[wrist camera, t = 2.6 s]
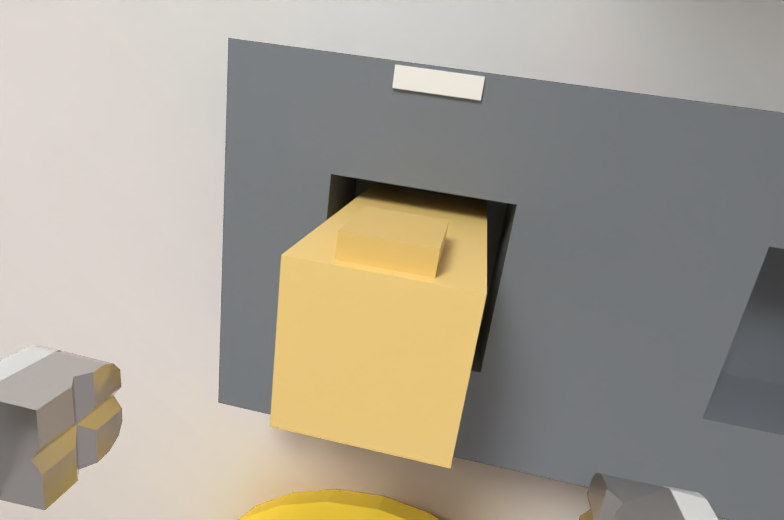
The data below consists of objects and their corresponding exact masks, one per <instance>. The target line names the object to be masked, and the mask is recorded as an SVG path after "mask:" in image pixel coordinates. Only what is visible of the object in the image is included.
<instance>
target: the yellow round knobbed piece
mask: <svg viewBox="0 0 784 520" xmlns="http://www.w3.org/2000/svg"><path fill="white" fill-rule="evenodd" d="M238 520H439V519H438V518H436V517H434V516H433V515H431V514H430V513H428V512H425V511H423V510H420V509H417V508H414V507H412V506H409V505H406V504H404V503H401V502H398V501H395V500H393V499H390V498H387V497H385V496H380V495H374V494H367V493H360V492H353V491H346V490H339V489H331V490H319V491H307V492H294V493H291V494H288V495H285V496H282V497H279V498H277V499H274V500H271V501H268V502H265V503H262V504H260V505H257V506H256V507H254V508H253V509H252V510H250V511H249V512H248V513H246V514H245V515H244V516H242V517H241V518H240V519H238Z"/></svg>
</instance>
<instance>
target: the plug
mask: <svg viewBox="0 0 784 520" xmlns="http://www.w3.org/2000/svg"><path fill="white" fill-rule="evenodd" d="M486 296H487V201H483V200H477V199H471V198H465V197H459V196H453V195H447V194H441V193H435V192H428V191H422V190H416V189H410V188H404V187H398V186H392V185H386V184H380V183H375V184H373V185H372V186H371V187H370V188H368V189H367V190H366V191H364V192H363V193H362V194H360V195H359V196H358V197H356V198H355V199H354V200H353V201H351V202H350V203H349V204H347V205H346V206H345V207H343V208H342V209H341V210H339V211H338V212H337V213H336V214H334V215H333V216H332V217H330V218H329V219H328V220H326V221H325V222H324V223H322V224H321V225H320V226H319V227H317V228H316V229H315V230H313V231H312V232H311V233H309V234H308V235H307V236H305V237H304V238H303V239H302V240H300V241H299V242H298V243H296V244H295V245H294V246H292V247H291V248H290V249H288V250H287V251H286V252H285V253H283V254H282V255H281V267H280V282H279V297H278V312H277V327H276V342H275V357H274V371H273V386H272V401H271V416H270V427H274V428H278V429H282V430H287V431H291V432H295V433H299V434H304V435H308V436H312V437H317V438H321V439H325V440H330V441H334V442H338V443H342V444H347V445H351V446H355V447H360V448H364V449H368V450H373V451H377V452H381V453H385V454H390V455H394V456H398V457H403V458H407V459H411V460H415V461H420V462H424V463H428V464H433V465H437V466H441V467H446V468H451V463H452V459H453V454H454V449H455V444H456V439H457V435H458V430H459V425H460V420H461V415H462V411H463V406H464V401H465V396H466V391H467V387H468V382H469V377H470V372H471V367H472V363H473V358H474V353H475V348H476V344H477V339H478V334H479V329H480V324H481V320H482V315H483V310H484V305H485V300H486Z"/></svg>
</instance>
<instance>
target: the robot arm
mask: <svg viewBox="0 0 784 520" xmlns="http://www.w3.org/2000/svg"><path fill="white" fill-rule="evenodd" d="M120 388H121V376H120V369H119V368H118V367H116V366H115V365H114V364H113V363H109V362H105V361H101V360H97V359H93V358H89V357H85V356H81V355H77V354H73V353H69V352H62V351H60V350H56V349H52V348H47V347H43V346H28V347H26V348H24V349H22V350H20V351H18V352H16V353H14V354H12V355H10V356H8V357H6V358H4V359H2V360H0V500H4V501H8V502H12V503H17V504H21V505H25V506H29V507H34V508H38V509H42V510H46V509H47V508H48V507H49V506H50V505H51V504H52V503H53V502H55V501H56V500H57V499H58V498H59V497H60V496H61V495H62V494H63V493H64V492H66V491H67V490H68V489H69V488H70V487H71V486H72V485H73V484H74V483H75V482H77V481H78V474H79V469H81V468H84V467H87V466H89V465H92V464H94V463H97V462H98V461H99V460H101V459H102V458H103V457H104V456H105V455H106V454H107V453H108V452H109V451H110V449H111V448H112V446H113V444H114V442H115V441H116V439H117V437H118V435H119V432H120V428H121V424H122V408H121V406H120V405H119V403H118V402H117V400H116V398H115V397H114V395H115V394H116V392H117V391H118V390H119V389H120ZM587 495H588V499H589V503H590V507H591V509H590V510H589V511H587V512H586V513H584V514H583V515H581V516H580V518H579V520H718V518H717V516H716V515H715V513H714V511H713V510H712V508H711V506H710V504H709V503H708V501H707V499H706V498H705V497H704V496H702V495H701V494H700V493H698V492H693V491H687V490H682V489H677V488H672V487H667V486H664V487H662V486H657V485H653V484H648V483H643V482H639V481H634V480H629V479H624V478H620V477H615V476H610V475H606V474H601V473H596V474H595V475H594V477H593V478H592V480H591V483H590V486H589V489H588V492H587Z"/></svg>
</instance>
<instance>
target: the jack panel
mask: <svg viewBox="0 0 784 520" xmlns="http://www.w3.org/2000/svg"><path fill="white" fill-rule="evenodd" d="M375 183H380V184H386V185H392V186H398V187H404V188H410V189H416V190H422V191H428V192H435V193H441V194H447V195H453V196H459V197H465V198H471V199H477V200H483V201H487V296H486V300H485V305H484V310H483V315H482V320H481V324H480V329H479V334H478V339H477V344H476V348H475V353H474V358H473V363H472V367H471V372H470V377H469V382H468V387H467V391H466V396H465V401H464V406H463V411H462V415H461V420H460V425H459V430H458V435H457V439H456V444H455V449H454V454H453V457H458V458H462V459H467V460H471V461H475V462H480V463H484V464H488V465H493V466H497V467H501V468H506V469H510V470H514V471H519V472H523V473H528V474H532V475H536V476H541V477H545V478H549V479H554V480H558V481H562V482H567V483H571V484H575V485H580V486H584V487H589V486H590V483H591V480H592V478H593V477H594V475H595V474H596V473H601V474H606V475H610V476H615V477H620V478H624V479H629V480H634V481H639V482H643V483H648V484H653V485H657V486H662V487H664V486H667V487H672V488H677V489H682V490H687V491H693V492H698V493H700V494H701V495H702V496H704V497H705V498H706V499H707V501H708V503H709V504H710V506H711V508H712V510H713V511H714V513H715V515H716V516H717V517H719V518H724V519H728V520H784V113H780V112H773V111H766V110H758V109H751V108H743V107H736V106H729V105H721V104H714V103H706V102H699V101H692V100H684V99H677V98H669V97H662V96H654V95H647V94H640V93H632V92H625V91H617V90H610V89H603V88H595V87H588V86H580V85H573V84H566V83H558V82H551V81H543V80H536V79H528V78H521V77H514V76H506V75H499V74H491V73H484V72H477V71H469V70H462V69H454V68H447V67H440V66H432V65H425V64H417V63H410V62H402V61H395V60H388V59H380V58H373V57H365V56H358V55H351V54H343V53H336V52H328V51H321V50H314V49H306V48H299V47H291V46H284V45H276V44H269V43H262V42H254V41H247V40H239V39H232V38H229V39H228V75H227V111H226V147H225V183H224V219H223V255H222V291H221V327H220V363H219V399H218V403H223V404H227V405H231V406H236V407H240V408H244V409H249V410H253V411H257V412H262V413H266V414H271V401H272V386H273V371H274V357H275V342H276V327H277V312H278V297H279V282H280V267H281V255H282V254H283V253H285V252H286V251H287V250H288V249H290V248H291V247H292V246H294V245H295V244H296V243H298V242H299V241H300V240H302V239H303V238H304V237H305V236H307V235H308V234H309V233H311V232H312V231H313V230H315V229H316V228H317V227H319V226H320V225H321V224H322V223H324V222H325V221H326V220H328V219H329V218H330V217H332V216H333V215H334V214H336V213H337V212H338V211H339V210H341V209H342V208H343V207H345V206H346V205H347V204H349V203H350V202H351V201H353V200H354V199H355V198H356V197H358V196H359V195H360V194H362V193H363V192H364V191H366V190H367V189H368V188H370V187H371V186H372V185H373V184H375Z"/></svg>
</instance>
